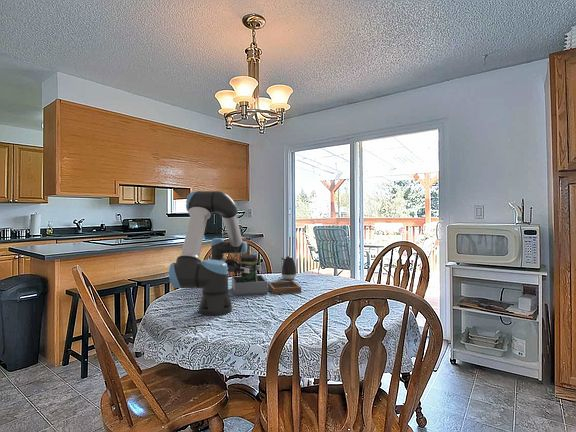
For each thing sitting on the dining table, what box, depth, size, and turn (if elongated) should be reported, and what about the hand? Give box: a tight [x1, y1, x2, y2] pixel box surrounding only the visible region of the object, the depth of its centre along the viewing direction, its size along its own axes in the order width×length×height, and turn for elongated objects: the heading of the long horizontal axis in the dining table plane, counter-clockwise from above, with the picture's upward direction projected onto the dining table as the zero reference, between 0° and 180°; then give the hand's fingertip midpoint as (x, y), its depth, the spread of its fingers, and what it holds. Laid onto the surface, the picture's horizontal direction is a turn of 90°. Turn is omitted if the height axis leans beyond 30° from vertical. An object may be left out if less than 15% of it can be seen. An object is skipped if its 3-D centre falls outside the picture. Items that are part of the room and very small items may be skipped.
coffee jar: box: [239, 253, 259, 283], centre depth 193 cm, size 10×8×19 cm
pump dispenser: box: [280, 255, 298, 280], centre depth 226 cm, size 10×10×15 cm
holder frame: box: [268, 280, 302, 295], centre depth 196 cm, size 16×16×3 cm
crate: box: [231, 274, 269, 297], centre depth 193 cm, size 18×18×7 cm
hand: (254, 269), depth 190 cm, fingers closed on coffee jar, 9 cm apart
